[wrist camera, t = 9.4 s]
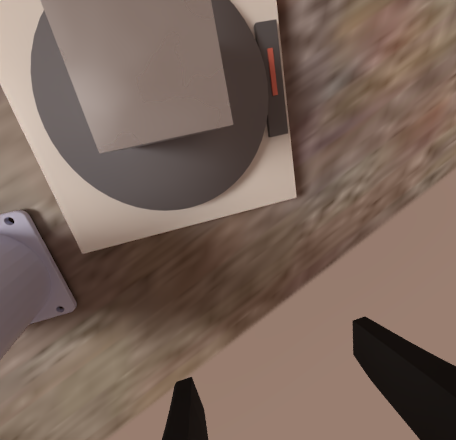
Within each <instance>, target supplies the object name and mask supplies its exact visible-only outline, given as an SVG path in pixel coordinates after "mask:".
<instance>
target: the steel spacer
mask: <svg viewBox="0 0 456 440" xmlns="http://www.w3.org/2000/svg"><path fill="white" fill-rule="evenodd" d="M40 1H41V3H42V6H43V8H44V11H45V14H46V16H47V19H48V21H49V24H50V27H51V29H52V32H53V34H54V37H55V40H56V42H57V45H58V47H59V50H60V53H61V55H62V58H63V60H64V63H65V66H66V68H67V71H68V73H69V76H70V79H71V81H72V84H73V86H74V89H75V92H76V94H77V97H78V99H79V102H80V105H81V107H82V110H83V112H84V115H85V118H86V120H87V123H88V125H89V128H90V130H91V133H92V136H93V138H94V141H95V143H96V146H97V149H98V151H99V153H105V152H112V151H118V150H124V149H130V148H136V147H140V146H145V145H149V144H154V143H159V142H163V141H168V140H173V139H177V138H182V137H187V136H191V135H196V134H201V133H205V132H210V131H213V130H217V129H220V128H224V127H227V126H231V125H233V120H232V114H231V109H230V103H229V98H228V92H227V86H226V81H225V75H224V70H223V64H222V59H221V53H220V47H219V42H218V36H217V31H216V25H215V20H214V14H213V8H212V3H211V0H40Z"/></svg>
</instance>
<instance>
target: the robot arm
mask: <svg viewBox="0 0 456 440" xmlns="http://www.w3.org/2000/svg"><path fill="white" fill-rule="evenodd" d="M9 217H10V218H12V219H13V220H14V223H12V222H10V221H9V219H8V218H9ZM59 306H61V307H63V308H64V309H61V308H59ZM76 306H77V303H76V301H75V299H74V297H73V295H72V293H71V291H70V289H69V288H68V286H67V284H66V282H65V280H64V278H63V276H62V275H61V273H60V271H59V269H58V267H57V265H56V263H55V262H54V260H53V258H52V256H51V254H50V252H49V250H48V249H47V247H46V245H45V243H44V241H43V239H42V237H41V236H40V234H39V232H38V230H37V228H36V226H35V224H34V223H33V221H32V219H31V217H30V215H29V214H28V213H27V212H25V211H23V210H16V211H11V212H7V213H3V214H0V360H1V359H2V357H3V356H4V355H5V354H6V352H7V351H8V350H9V349H10V347H11V346H12V345H13V344H14V342H15V341H16V340H17V339H18V338H19V336H20V335H21V334H22V333H23V331H24V330H25V329H26V328H27V326H28V325H29V324H32V323H35V322H39V321H42V320H46V319H49V318H53V317H56V316H59V315H63V314H66V313H70V312H72V311H74V309H75V308H76ZM353 354H354V356H355V357H356V359H357V360H358V362H359V364H360V365H361V367H362V368H363V370H364V371H365V372H366V374H367V375H368V377H369V378H370V379H371V381H372V382H373V383H374V384H375V386H376V387H377V388H378V389H379V391H380V392H381V393H382V394H383V395H384V397H385V398H386V399H387V400H388V402H389V403H390V404H391V405H392V406H393V408H394V409H395V410H396V411H397V412H398V414H399V415H400V416H401V417H402V418H403V419H404V421H405V422H406V423H407V424H408V426H409V427H410V428H411V429H412V430H413V432H414V433H415V434H416V435H417V436H418V438H419V439H420V440H456V366H454V365H452V364H450V363H448V362H446V361H444V360H442V359H440V358H438V357H437V356H434V355H433V354H431V353H429V352H427V351H425V350H423V349H422V348H420V347H418V346H416V345H414V344H412V343H411V342H409V341H407V340H405V339H403V338H402V337H400V336H398V335H397V334H395V333H393V332H391V331H390V330H388V329H386V328H384V327H382V326H381V325H379V324H377V323H376V322H374V321H372V320H370V319H368V318H367V317H362V318H359V319H356V320H354V321H353ZM162 440H208V434H207V427H206V420H205V413H204V408H203V405H202V403H201V400H200V397H199V395H198V392H197V390H196V387H195V384H194V382H193V379H192V377H190V378H187V379H184V380H181V381H178V382H176V384H175V386H174V392H173V397H172V402H171V406H170V411H169V414H168V419H167V423H166V427H165V430H164V434H163V438H162Z"/></svg>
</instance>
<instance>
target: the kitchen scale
mask: <svg viewBox="0 0 456 440" xmlns="http://www.w3.org/2000/svg"><path fill="white" fill-rule="evenodd" d="M211 3H212V8H213V14H214V20H215V25H216V31H217V36H218V42H219V47H220V53H221V59H222V64H223V70H224V75H225V81H226V86H227V92H228V98H229V103H230V109H231V114H232V120H233V125H231V126H227V127H224V128H220V129H217V130H213V131H210V132H205V133H201V134H196V135H191V136H187V137H182V138H177V139H173V140H168V141H163V142H159V143H154V144H149V145H145V146H140V147H136V148H130V149H124V150H118V151H112V152H105V153H99V151H98V149H97V146H96V143H95V141H94V138H93V136H92V133H91V130H90V128H89V125H88V123H87V120H86V118H85V115H84V112H83V110H82V107H81V105H80V102H79V99H78V97H77V94H76V92H75V89H74V86H73V84H72V81H71V79H70V76H69V73H68V71H67V68H66V66H65V63H64V60H63V58H62V55H61V53H60V50H59V47H58V45H57V42H56V40H55V37H54V34H53V32H52V29H51V27H50V24H49V21H48V19H47V16H46V14H45V11H44V8H43V6H42V3H41V1H40V0H0V85H1V87H2V89H3V91H4V93H5V95H6V97H7V99H8V101H9V103H10V105H11V107H12V109H13V112H14V114H15V116H16V118H17V120H18V122H19V124H20V126H21V128H22V130H23V132H24V134H25V136H26V138H27V141H28V143H29V145H30V147H31V149H32V151H33V153H34V155H35V157H36V159H37V161H38V163H39V165H40V167H41V170H42V172H43V174H44V176H45V178H46V180H47V182H48V184H49V186H50V188H51V190H52V192H53V194H54V196H55V198H56V201H57V203H58V205H59V207H60V209H61V211H62V213H63V215H64V217H65V219H66V221H67V223H68V225H69V227H70V230H71V232H72V234H73V236H74V238H75V240H76V242H77V244H78V246H79V248H80V250H81V252H82V254H85V253H88V252H92V251H96V250H100V249H103V248H107V247H111V246H115V245H119V244H122V243H126V242H130V241H134V240H138V239H141V238H145V237H149V236H153V235H156V234H160V233H164V232H168V231H172V230H175V229H179V228H183V227H187V226H191V225H194V224H198V223H202V222H206V221H209V220H213V219H217V218H221V217H225V216H228V215H232V214H236V213H240V212H243V211H247V210H251V209H255V208H259V207H262V206H266V205H270V204H274V203H278V202H281V201H285V200H289V199H293V198H296V197H297V196H296V187H295V177H294V167H293V157H292V148H291V138H290V128H289V118H288V109H287V99H286V89H285V79H284V70H283V60H282V50H281V40H280V31H279V21H278V11H277V1H276V0H211Z"/></svg>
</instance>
